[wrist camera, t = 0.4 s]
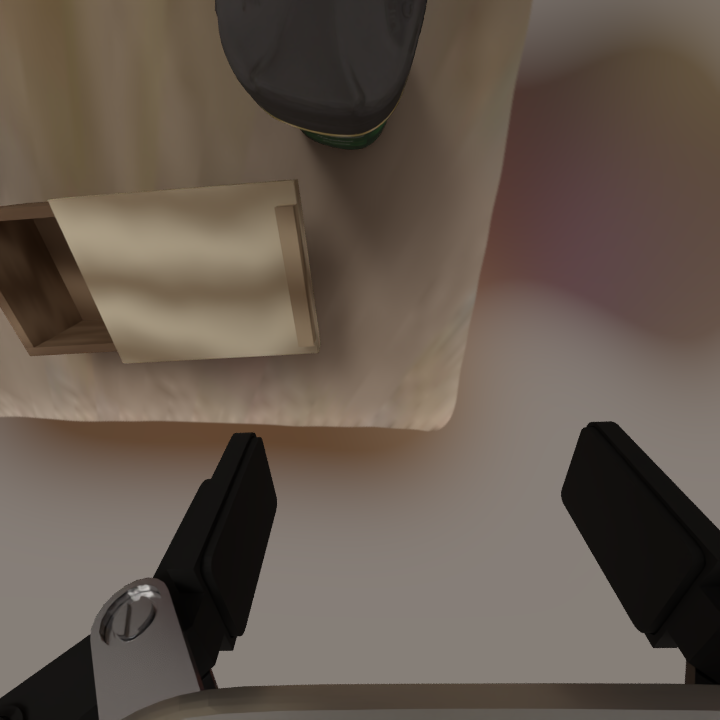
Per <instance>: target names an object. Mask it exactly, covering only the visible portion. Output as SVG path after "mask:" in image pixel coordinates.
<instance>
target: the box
mask: <svg viewBox="0 0 720 720" xmlns="http://www.w3.org/2000/svg"><path fill="white" fill-rule="evenodd" d="M0 307H1V309H2V311H3V312H4V314H5V315H6V317H7V319H8V320H9V322H10V324H11V325H12V327H13V329H14V330H15V332H16V334H17V335H18V337H19V339H20V340H21V342H22V344H23V345H24V347H25V348H26V350H27V352H28V353H29V355H30V356H40V355H58V354H75V353H93V352H111V351H117V349H116V347H115V345H114V343H113V341H112V338H111V336H110V334H109V332H108V330H107V328H106V325H105V323H104V321H103V319H102V317H101V315H100V312H99V310H98V308H97V306H96V304H95V302H94V299H93V297H92V295H91V293H90V291H89V289H88V286H87V284H86V282H85V280H84V278H83V276H82V273H81V271H80V269H79V267H78V265H77V263H76V261H75V258H74V256H73V254H72V252H71V250H70V248H69V245H68V243H67V241H66V239H65V237H64V235H63V232H62V230H61V228H60V226H59V224H58V222H57V219H56V217H55V215H54V213H53V211H52V209H51V206H50V204H49V202H38V203H25V204H16V205H8V206H0Z"/></svg>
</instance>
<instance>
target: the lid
mask: <svg viewBox="0 0 720 720" xmlns="http://www.w3.org/2000/svg"><path fill="white" fill-rule="evenodd" d="M48 202H49V204H50V206H51V209H52V211H53V213H54V215H55V217H56V219H57V222H58V224H59V226H60V228H61V230H62V232H63V235H64V237H65V239H66V241H67V243H68V245H69V248H70V250H71V252H72V254H73V256H74V258H75V261H76V263H77V265H78V267H79V269H80V271H81V273H82V276H83V278H84V280H85V282H86V284H87V286H88V289H89V291H90V293H91V295H92V297H93V299H94V302H95V304H96V306H97V308H98V310H99V312H100V315H101V317H102V319H103V321H104V323H105V325H106V328H107V330H108V332H109V334H110V336H111V338H112V341H113V343H114V345H115V347H116V349H117V351H118V353H119V356H120V358H121V360H122V362H123V364H127V363H145V362H163V361H181V360H199V359H218V358H236V357H254V356H272V355H290V354H309V353H319V349H320V345H321V343H320V336H319V329H318V321H317V314H316V307H315V300H314V293H313V286H312V278H311V271H310V264H309V257H308V250H307V243H306V235H305V228H304V221H303V214H302V207H301V200H300V192H299V185H298V179H296V180H283V181H270V182H258V183H245V184H232V185H219V186H207V187H194V188H181V189H168V190H156V191H143V192H130V193H118V194H105V195H92V196H79V197H67V198H58V199H49V200H48Z"/></svg>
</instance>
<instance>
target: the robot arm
mask: <svg viewBox="0 0 720 720" xmlns="http://www.w3.org/2000/svg"><path fill="white" fill-rule="evenodd" d="M561 497H562V501H563V504H564V506H565V507H566V509H567V511H568V512H569V514H570V516H571V517H572V519H573V521H574V523H575V524H576V526H577V528H578V530H579V531H580V533H581V534H582V536H583V538H584V540H585V542H586V543H587V545H588V547H589V549H590V550H591V552H592V554H593V555H594V557H595V559H596V561H597V562H598V564H599V566H600V568H601V569H602V571H603V573H604V574H605V576H606V578H607V580H608V581H609V583H610V585H611V587H612V588H613V590H614V592H615V593H616V595H617V597H618V598H619V600H620V602H621V604H622V605H623V607H624V609H625V611H626V612H627V614H628V616H629V618H630V619H631V621H632V623H633V624H634V626H635V627H636V628H637V629H638V630H639V631H640V632H642V633H645V635H646V637H647V639H648V640H649V642H650V644H651V645H652V647H653V648H677V647H678V648H679V649H680V651H681V652H682V654H683V655H684V657H685V658H686V671H685V672H686V673H685V684H603V683H595V684H594V683H593V684H592V683H591V684H588V683H580V684H579V683H573V684H572V683H526V684H525V683H519V684H518V683H512V684H511V683H506V684H505V683H498V684H497V683H496V684H493V683H492V684H490V683H488V684H485V683H484V684H319V685H280V686H244V687H232V688H221V689H218V686H217V683H216V680H215V677H214V675H213V672H212V669H211V668H212V667H213V666H214V665H215V663H216V660H217V657H218V653H219V651H232V650H233V649H234V645H235V641H236V638H237V636H242V635H243V633H244V631H245V628H246V625H247V621H248V617H249V613H250V609H251V605H252V601H253V598H254V593H255V590H256V586H257V582H258V578H259V574H260V570H261V567H262V563H263V559H264V555H265V551H266V547H267V543H268V539H269V536H270V532H271V528H272V524H273V520H274V516H275V513H276V508H277V497H276V493H275V489H274V485H273V481H272V477H271V473H270V469H269V465H268V461H267V457H266V453H265V449H264V445H263V441H262V438H261V437H256V434H255V433H235V434H233V436H232V437H231V439H230V441H229V443H228V445H227V447H226V449H225V451H224V453H223V456H222V458H221V460H220V462H219V464H218V466H217V468H216V470H215V472H214V474H213V476H212V478H211V479H207V480H205V481H204V482H203V483H202V484H201V486H200V487H199V489H198V491H197V493H196V495H195V497H194V499H193V501H192V503H191V505H190V507H189V509H188V510H187V513H186V514H185V516H184V518H183V521H182V522H181V524H180V526H179V528H178V530H177V532H176V534H175V536H174V538H173V540H172V542H171V544H170V545H169V548H168V550H167V551H166V553H165V555H164V557H163V559H162V561H161V563H160V565H159V567H158V569H157V571H156V573H155V575H154V577H153V578H144V579H140V580H136V581H134V582H132V583H130V584H128V585H126V586H124V587H123V588H122V589H120V590H119V591H118V592H116V593H115V594H114V595H113V596H112V597H111V598H110V599H109V600H108V601H107V602H106V603H105V604H104V605H103V607H102V608H101V610H100V611H99V613H98V614H97V616H96V618H95V620H94V623H93V626H92V628H91V634H90V635H89V636H87V637H86V638H84V639H83V640H82V641H80V642H79V643H77V644H76V645H75V646H73V647H72V648H70V649H69V650H68V651H66V652H65V653H63V654H62V655H61V656H59V657H58V658H57V659H55V660H53V661H52V662H51V663H49V664H48V665H46V666H45V667H44V668H42V669H41V670H39V671H38V672H37V673H35V674H34V675H32V676H31V677H30V678H28V679H27V680H25V681H24V682H23V683H21V684H20V685H18V686H17V687H16V688H14V689H13V690H11V691H10V692H8V693H7V694H6V695H4V696H3V697H1V698H0V720H720V530H719V529H718V528H717V527H716V526H715V525H714V524H713V523H712V522H711V521H710V520H709V519H708V518H707V517H706V516H705V515H704V514H703V512H701V510H700V509H698V507H697V506H696V505H695V504H694V503H693V502H692V501H691V500H690V499H689V498H688V497H687V496H686V495H685V494H684V493H683V492H682V491H681V490H680V489H679V488H678V487H677V486H676V484H675V483H674V482H672V480H671V479H670V478H669V477H668V476H667V475H666V474H665V473H664V472H663V471H662V470H661V469H660V468H659V467H658V466H657V465H656V464H655V463H654V462H653V461H652V460H651V459H650V458H649V456H647V454H646V453H645V452H644V451H643V450H642V449H641V448H640V447H639V446H638V445H637V444H636V443H635V442H634V441H633V440H632V439H631V438H630V437H629V436H628V435H627V434H626V433H625V432H624V431H623V430H622V429H621V428H620V427H619V425H618V424H616V423H614V422H611V421H610V422H590V423H589V424H588V425H587V427H585V428H583V429H582V430H581V433H580V436H579V439H578V442H577V445H576V448H575V451H574V454H573V457H572V460H571V464H570V466H569V469H568V472H567V475H566V479H565V482H564V484H563V487H562V491H561Z"/></svg>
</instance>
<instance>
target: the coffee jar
mask: <svg viewBox="0 0 720 720" xmlns="http://www.w3.org/2000/svg"><path fill="white" fill-rule="evenodd" d="M426 3H427V0H215V11H216V14H217V16H218V25H219V33H220V38H221V43H222V46H223V49H224V52H225V55H226V57H227V60H228V62H229V64H230V66H231V68H232V70H233V72H234V74H235V75H236V77H237V79H238V80H239V82H240V83H241V85H242V86H243V87H244V89H245V90H246V91H247V92H248V93H249V94H250V95H251V97H252V98H253V99H254V100H255V101H256V103H257V104H258V105H259V106H260V107H261V108H262V109H263V110H264V111H265V112H267V113H268V114H269V115H270V116H272V117H273V118H275V119H277V120H279V121H281V122H283V123H285V124H287V125H290V126H293V127H295V128H298V129H300V130H301V131H302V132H303V133H304V134H305V135H306V136H308V137H309V138H311V139H312V140H314V141H316V142H319V143H321V144H324V145H328V146H332V147H336V148H342V149H361V148H364V147H367V146H368V145H370V144H372V143H373V142H374V141H375V140H376V139H377V138H378V137H379V135H380V134H381V132H382V130H383V128H384V126H385V124H386V122H387V119H388V117H389V116H390V115H391V114H392V112H393V111H394V109H395V108H396V106H397V104H398V102H399V100H400V98H401V96H402V93H403V90H404V87H405V84H406V82H407V78H408V75H409V72H410V68H411V65H412V62H413V58H414V55H415V51H416V47H417V43H418V39H419V35H420V32H421V28H422V24H423V20H424V14H425V10H426Z"/></svg>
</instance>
